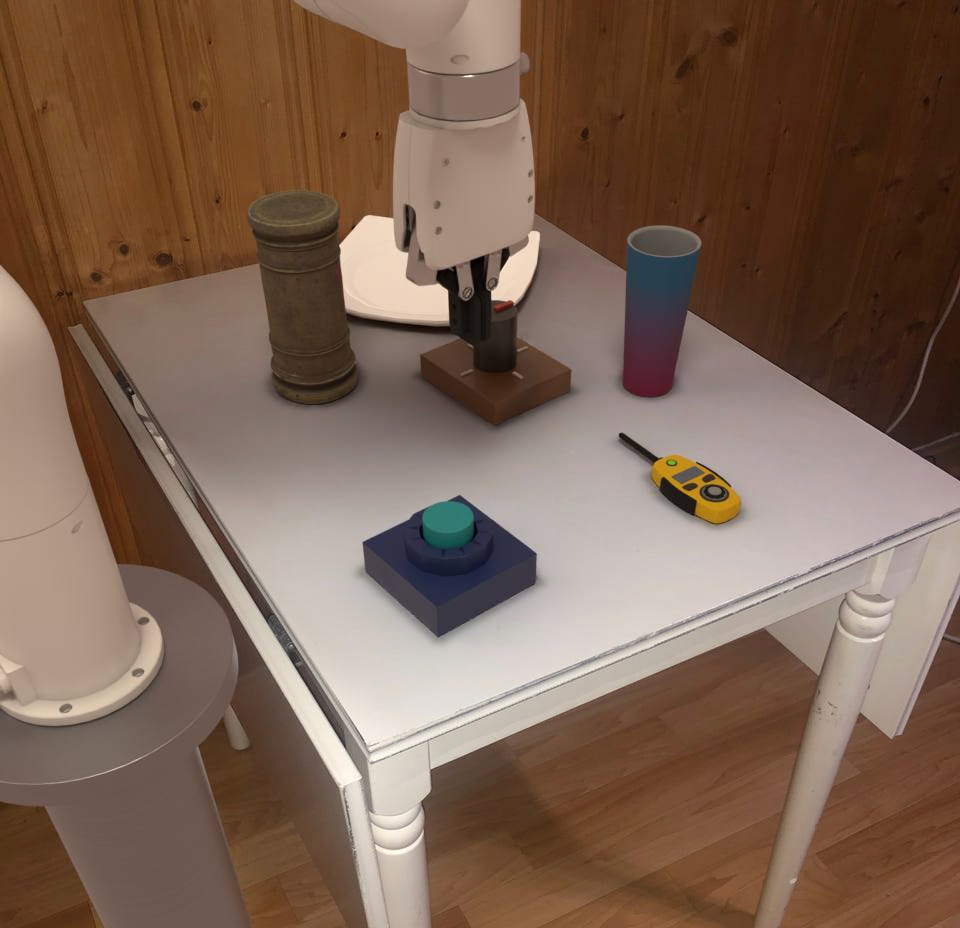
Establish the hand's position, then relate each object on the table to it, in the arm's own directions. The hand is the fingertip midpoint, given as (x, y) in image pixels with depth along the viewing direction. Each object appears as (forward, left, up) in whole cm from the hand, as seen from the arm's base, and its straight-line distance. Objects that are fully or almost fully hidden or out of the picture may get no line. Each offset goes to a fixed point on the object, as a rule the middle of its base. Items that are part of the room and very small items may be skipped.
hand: (470, 335), depth 83 cm
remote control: (+16, -10, -16) cm, 24 cm away
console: (+14, +13, -16) cm, 25 cm away
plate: (+22, +35, -16) cm, 44 cm away
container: (0, +25, -16) cm, 30 cm away
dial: (+14, +13, -13) cm, 23 cm away
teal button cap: (-8, -8, -11) cm, 16 cm away
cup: (+26, +3, -16) cm, 30 cm away
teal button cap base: (-8, -8, -16) cm, 19 cm away
